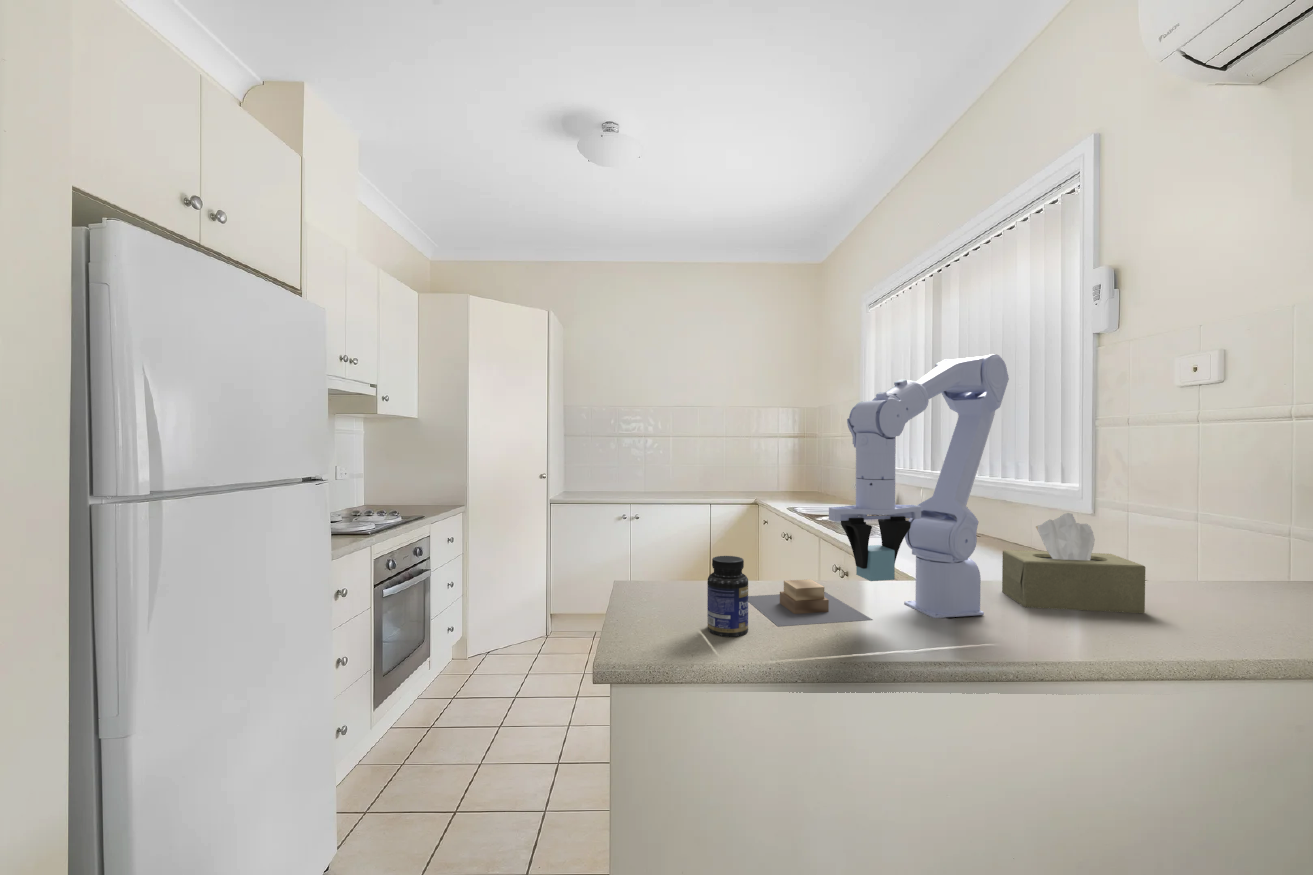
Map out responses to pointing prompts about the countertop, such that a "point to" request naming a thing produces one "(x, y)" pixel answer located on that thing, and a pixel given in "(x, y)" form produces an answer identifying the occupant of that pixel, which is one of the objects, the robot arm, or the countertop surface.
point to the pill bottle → (727, 597)
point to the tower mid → (803, 589)
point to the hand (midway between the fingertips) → (874, 566)
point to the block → (878, 564)
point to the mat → (785, 617)
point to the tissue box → (1072, 573)
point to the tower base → (804, 604)
